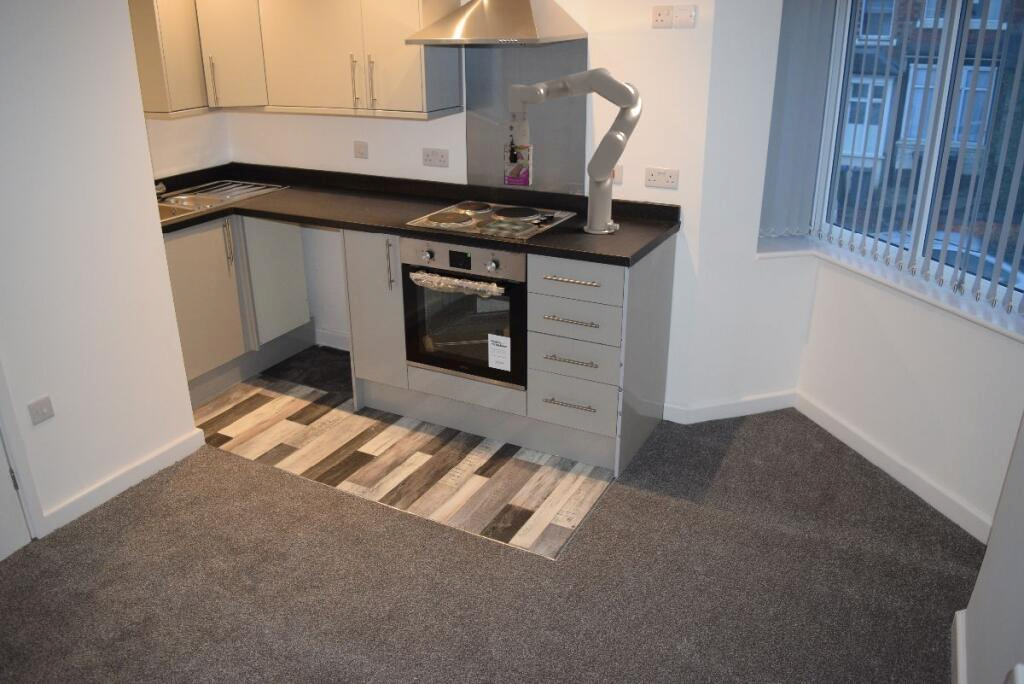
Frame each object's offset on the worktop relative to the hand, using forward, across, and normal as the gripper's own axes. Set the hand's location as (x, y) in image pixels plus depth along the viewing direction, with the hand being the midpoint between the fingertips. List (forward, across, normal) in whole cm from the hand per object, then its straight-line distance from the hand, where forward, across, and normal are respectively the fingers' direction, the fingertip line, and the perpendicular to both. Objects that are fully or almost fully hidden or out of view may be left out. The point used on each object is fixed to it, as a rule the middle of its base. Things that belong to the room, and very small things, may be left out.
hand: (518, 161), depth 336 cm
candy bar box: (+10, 0, 0) cm, 10 cm away
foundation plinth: (+27, -9, -1) cm, 29 cm away
